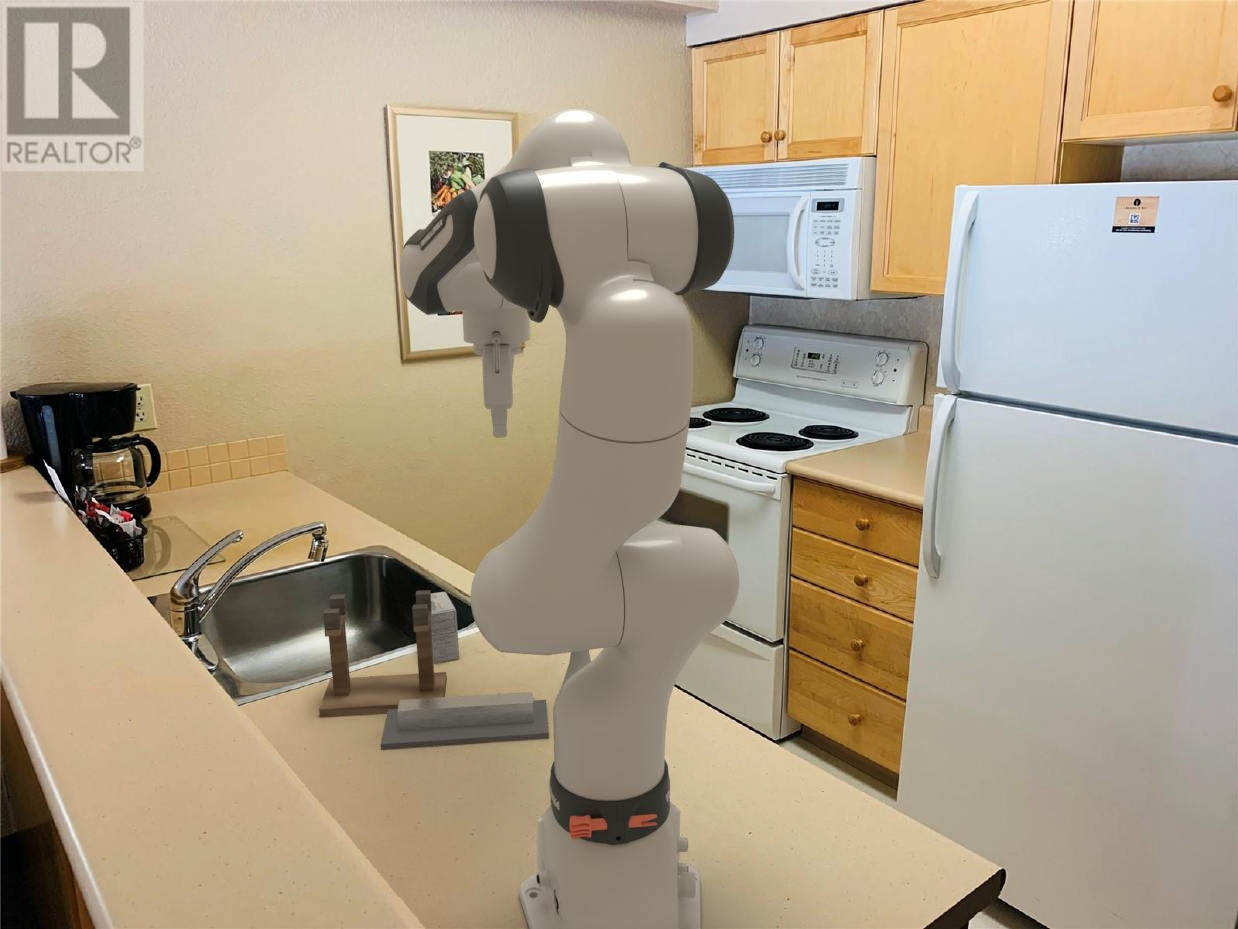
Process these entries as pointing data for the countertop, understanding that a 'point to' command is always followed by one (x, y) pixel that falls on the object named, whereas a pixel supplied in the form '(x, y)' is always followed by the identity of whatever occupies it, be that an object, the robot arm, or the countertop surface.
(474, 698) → the steel rail
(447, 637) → the medicine box
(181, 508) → the countertop surface
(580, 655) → the flask
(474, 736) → the rubber mat
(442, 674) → the rail stand
